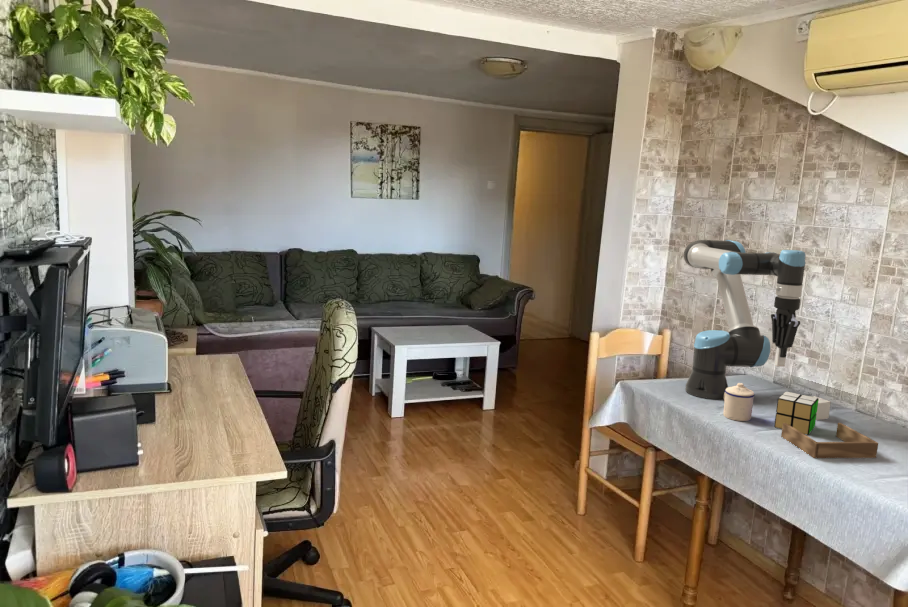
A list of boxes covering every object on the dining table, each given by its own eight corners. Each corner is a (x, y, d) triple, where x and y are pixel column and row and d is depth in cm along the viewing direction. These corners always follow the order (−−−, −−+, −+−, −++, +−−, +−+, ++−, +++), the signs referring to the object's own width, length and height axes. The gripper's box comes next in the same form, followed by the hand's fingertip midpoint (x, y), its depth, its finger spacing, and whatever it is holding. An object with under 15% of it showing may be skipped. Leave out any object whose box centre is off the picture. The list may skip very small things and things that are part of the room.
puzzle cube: (781, 419, 215) (785, 391, 213) (815, 427, 208) (819, 397, 206) (773, 427, 207) (777, 398, 205) (808, 435, 201) (812, 405, 199)
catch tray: (781, 436, 199) (782, 423, 198) (838, 436, 201) (840, 422, 200) (813, 458, 183) (815, 443, 182) (876, 457, 185) (878, 443, 184)
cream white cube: (828, 418, 217) (830, 401, 216) (815, 420, 215) (818, 403, 214) (812, 412, 222) (815, 396, 221) (800, 414, 220) (802, 397, 219)
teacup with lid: (757, 421, 212) (761, 387, 210) (733, 422, 210) (737, 388, 208) (735, 408, 224) (738, 376, 222) (711, 410, 222) (715, 377, 220)
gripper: (765, 293, 218) (758, 360, 222) (788, 300, 205) (780, 371, 209) (786, 293, 219) (778, 360, 223) (811, 300, 206) (802, 371, 210)
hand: (779, 365), depth 216 cm, fingers closed
